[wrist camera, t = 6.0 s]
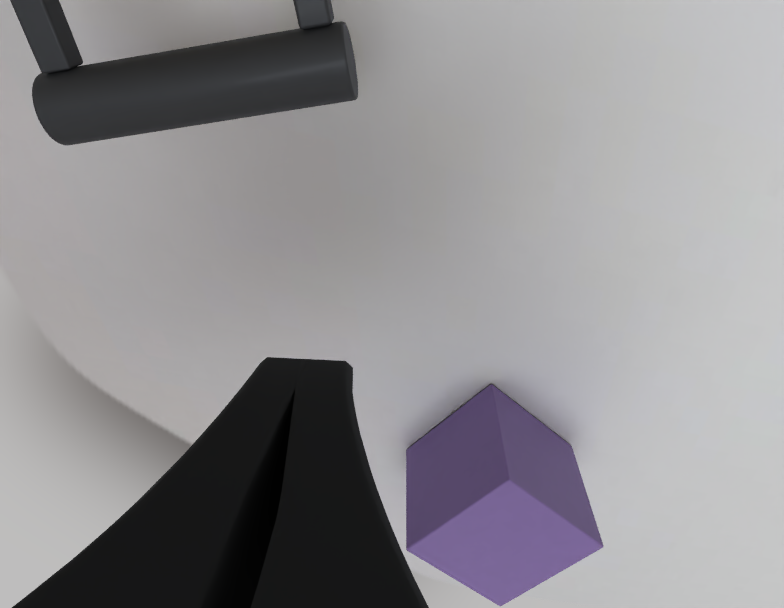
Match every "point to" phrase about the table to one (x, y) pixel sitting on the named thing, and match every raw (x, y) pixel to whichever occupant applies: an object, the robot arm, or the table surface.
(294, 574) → the robot arm
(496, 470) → the block
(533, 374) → the table surface
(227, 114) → the drawer
